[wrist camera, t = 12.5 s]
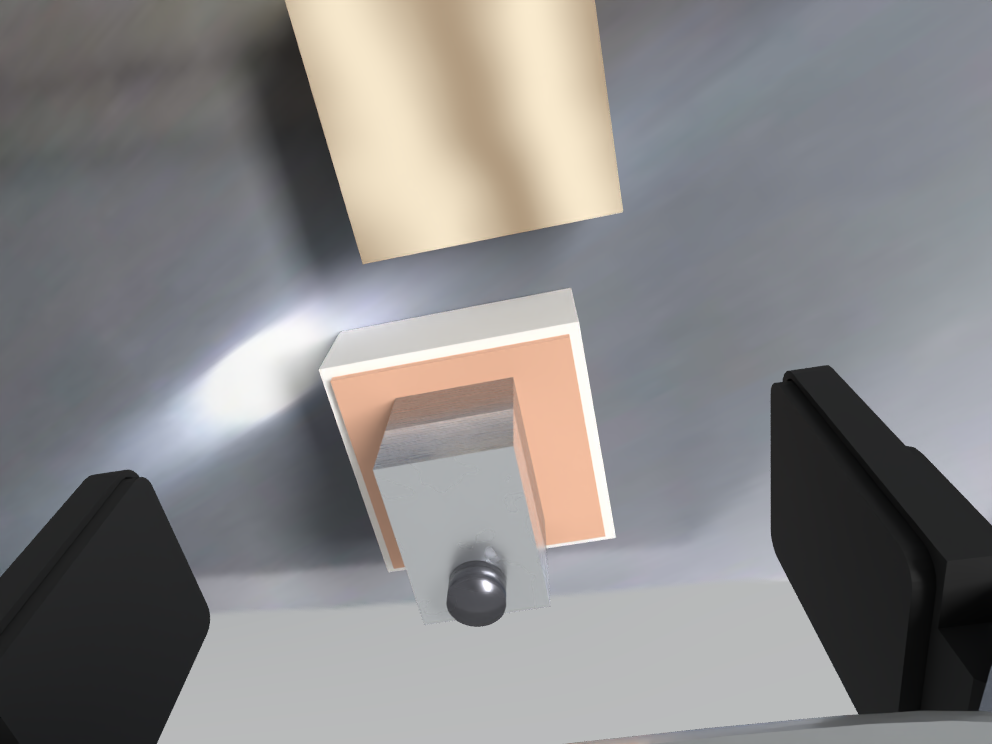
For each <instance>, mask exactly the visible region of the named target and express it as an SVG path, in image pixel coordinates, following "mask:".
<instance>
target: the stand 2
mask: <svg viewBox="0 0 992 744" xmlns="http://www.w3.org/2000/svg"><path fill="white" fill-rule="evenodd" d="M319 372H320V375H321V378H322V381H323V384H324V387H325V390H326V393H327V396H328V398H329V401H330V404H331V407H332V410H333V413H334V416H335V419H336V422H337V425H338V427H339V430H340V433H341V436H342V439H343V442H344V445H345V448H346V451H347V454H348V457H349V459H350V462H351V465H352V468H353V471H354V474H355V477H356V480H357V483H358V486H359V489H360V491H361V494H362V497H363V500H364V503H365V506H366V509H367V512H368V515H369V518H370V521H371V523H372V526H373V529H374V532H375V535H376V538H377V541H378V544H379V547H380V550H381V553H382V555H383V558H384V561H385V564H386V567H387V570H388V572H395V571H401V570H406V569H405V566H404V562H403V559H402V556H401V553H400V550H399V547H398V544H397V541H396V538H395V535H394V532H393V529H392V526H391V523H390V520H389V517H388V514H387V511H386V508H385V505H384V502H383V499H382V496H381V493H380V490H379V487H378V484H377V481H376V478H375V475H374V472H373V468H374V465H375V462H376V458H377V455H378V452H379V449H380V446H381V443H382V439H383V436H384V433H385V430H386V427H387V424H388V420H389V417H390V414H391V411H392V408H393V405H394V401H395V398H399V397H405V396H410V395H416V394H422V393H427V392H433V391H438V390H444V389H449V388H455V387H460V386H466V385H472V384H477V383H483V382H488V381H494V380H499V379H505V378H510V377H513V378H514V383H515V387H516V392H517V396H518V401H519V405H520V410H521V414H522V419H523V423H524V428H525V432H526V437H527V442H528V446H529V451H530V455H531V460H532V464H533V469H534V473H535V478H536V482H537V487H538V491H539V496H540V500H541V505H542V509H543V514H544V518H545V531H546V546H547V548H552V547H558V546H565V545H571V544H578V543H584V542H591V541H598V540H604V539H611V538H616V536H615V530H614V524H613V519H612V513H611V507H610V501H609V495H608V489H607V484H606V478H605V472H604V466H603V460H602V454H601V449H600V443H599V437H598V431H597V425H596V419H595V414H594V408H593V402H592V396H591V390H590V385H589V379H588V373H587V367H586V361H585V355H584V350H583V344H582V338H581V332H580V326H579V321H578V316H577V312H576V307H575V303H574V299H573V294H572V290H571V288H567V289H562V290H557V291H551V292H546V293H541V294H536V295H530V296H525V297H520V298H515V299H509V300H504V301H499V302H494V303H488V304H483V305H478V306H473V307H467V308H462V309H457V310H451V311H446V312H441V313H436V314H430V315H425V316H420V317H415V318H409V319H404V320H399V321H394V322H388V323H383V324H378V325H373V326H367V327H362V328H357V329H352V330H346V331H341V332H340V333H339V335H338V336H337V338H336V340H335V342H334V343H333V345H332V347H331V349H330V350H329V352H328V354H327V356H326V358H325V359H324V361H323V363H322V365H321V366H320V368H319Z"/></svg>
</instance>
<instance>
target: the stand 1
mask: <svg viewBox="0 0 992 744" xmlns="http://www.w3.org/2000/svg"><path fill="white" fill-rule="evenodd" d="M285 2H286V6H287V9H288V12H289V16H290V19H291V23H292V26H293V29H294V33H295V36H296V40H297V43H298V46H299V50H300V53H301V56H302V60H303V63H304V67H305V70H306V73H307V77H308V80H309V84H310V87H311V90H312V94H313V97H314V100H315V104H316V107H317V111H318V114H319V117H320V121H321V124H322V128H323V131H324V134H325V138H326V141H327V144H328V148H329V151H330V155H331V158H332V161H333V165H334V168H335V172H336V175H337V178H338V182H339V185H340V188H341V192H342V195H343V199H344V202H345V205H346V209H347V212H348V216H349V219H350V222H351V226H352V229H353V232H354V236H355V239H356V243H357V246H358V249H359V253H360V256H361V260H362V263H363V264H366V263H371V262H376V261H381V260H386V259H391V258H396V257H401V256H406V255H411V254H416V253H421V252H426V251H431V250H436V249H441V248H446V247H451V246H456V245H461V244H466V243H471V242H476V241H481V240H486V239H491V238H496V237H501V236H506V235H511V234H516V233H521V232H526V231H531V230H536V229H541V228H546V227H551V226H556V225H561V224H566V223H571V222H576V221H581V220H586V219H591V218H596V217H601V216H606V215H611V214H616V213H621V212H623V207H622V200H621V193H620V185H619V178H618V170H617V163H616V156H615V148H614V141H613V133H612V126H611V118H610V111H609V104H608V96H607V89H606V81H605V74H604V67H603V59H602V52H601V44H600V37H599V29H598V22H597V15H596V7H595V0H285Z"/></svg>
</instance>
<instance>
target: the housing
mask: <svg viewBox="0 0 992 744" xmlns="http://www.w3.org/2000/svg"><path fill="white" fill-rule="evenodd" d="M373 472H374V475H375V478H376V481H377V484H378V487H379V490H380V493H381V496H382V499H383V502H384V505H385V508H386V511H387V514H388V517H389V520H390V523H391V526H392V529H393V532H394V535H395V538H396V541H397V544H398V547H399V550H400V553H401V556H402V559H403V562H404V566H405V569H406V572H407V575H408V578H409V581H410V584H411V587H412V590H413V593H414V596H415V599H416V602H417V605H418V608H419V611H420V614H421V617H422V620H423V623H424V625H426V624H433V623H440V622H447V621H453V620H457V621H458V622H460V623H462V624H465V625H469V626H475V627H477V626H478V627H480V626H486V625H490V624H492V623H494V622H496V621H497V620H498V619H500V618H501V617H502V615H503V614H504V613H508V612H516V611H522V610H530V609H536V608H543V607H550V591H549V576H548V561H547V546H546V531H545V518H544V514H543V509H542V505H541V500H540V496H539V491H538V487H537V482H536V478H535V473H534V469H533V464H532V460H531V455H530V451H529V446H528V442H527V437H526V432H525V428H524V423H523V419H522V414H521V410H520V405H519V401H518V396H517V392H516V387H515V383H514V378H513V377H510V378H505V379H499V380H494V381H488V382H483V383H477V384H472V385H466V386H460V387H455V388H449V389H444V390H438V391H433V392H427V393H422V394H416V395H410V396H405V397H399V398H395V401H394V405H393V408H392V411H391V414H390V417H389V420H388V424H387V427H386V430H385V433H384V436H383V439H382V443H381V446H380V449H379V452H378V455H377V458H376V462H375V465H374V468H373Z"/></svg>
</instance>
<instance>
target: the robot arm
mask: <svg viewBox="0 0 992 744" xmlns="http://www.w3.org/2000/svg"><path fill="white" fill-rule="evenodd" d="M771 537H772V543H773V547H774V550H775V553H776V555H777V558H778V560H779V562H780V564H781V566H782V567H783V569H784V571H785V573H786V575H787V577H788V579H789V581H790V583H791V585H792V587H793V589H794V590H795V593H796V595H797V596H798V598H799V600H800V602H801V604H802V606H803V608H804V610H805V612H806V614H807V616H808V618H809V620H810V621H811V623H812V625H813V627H814V629H815V631H816V633H817V635H818V637H819V639H820V641H821V643H822V645H823V647H824V649H825V651H826V652H827V654H828V656H829V658H830V660H831V662H832V664H833V666H834V668H835V670H836V672H837V674H838V675H839V677H840V679H841V681H842V683H843V685H844V687H845V689H846V691H847V693H848V695H849V697H850V699H851V701H852V703H853V704H854V706H855V708H856V710H857V712H858V714H859V715H843V716H832V717H822V718H809V719H799V720H788V721H779V722H768V723H758V724H747V725H736V726H726V727H715V728H704V729H695V730H686V731H677V732H669V733H660V734H650V735H641V736H632V737H623V738H613V739H604V740H595V741H586V742H577V743H568V744H992V525H991V524H990V523H989V522H988V521H987V520H986V519H985V518H984V517H983V516H982V515H981V514H980V513H979V512H978V511H977V510H976V509H975V508H974V507H973V505H972V504H971V503H970V502H969V501H968V500H967V499H966V498H965V497H964V496H963V495H962V494H961V493H960V492H959V491H958V490H957V489H956V488H955V487H954V486H953V485H952V484H951V483H950V482H949V481H948V480H947V479H946V477H945V476H944V475H943V474H942V473H941V472H940V471H939V470H938V469H937V468H936V467H935V466H934V465H933V464H932V463H931V462H930V461H929V460H928V459H927V458H926V457H925V456H924V455H923V454H922V453H921V452H920V451H918V450H917V449H916V448H914V447H909V446H905V445H904V444H903V443H902V442H901V441H900V439H899V438H898V437H897V436H896V435H895V434H894V433H893V432H892V431H891V430H890V429H889V428H888V427H887V426H886V425H885V424H884V422H883V421H882V420H881V419H880V418H879V417H878V416H877V415H876V414H875V413H874V412H873V411H872V410H871V409H870V408H869V407H868V406H867V404H866V403H865V402H864V401H863V400H862V399H861V398H860V397H859V396H858V395H857V394H856V393H855V392H854V391H853V390H852V389H851V388H850V386H849V385H848V384H847V383H846V382H845V381H844V380H843V379H842V378H841V377H840V376H839V375H838V374H837V373H836V372H835V371H834V369H833V368H831V367H830V366H828V365H826V366H818V367H812V368H805V369H798V370H791V371H787V372H786V373H785V374H784V377H783V382H779V383H774V384H773V385H772V388H771ZM209 624H210V613H209V608H208V606H207V603H206V601H205V599H204V597H203V595H202V592H201V590H200V588H199V586H198V584H197V582H196V579H195V577H194V575H193V573H192V571H191V569H190V567H189V564H188V562H187V560H186V558H185V556H184V554H183V551H182V549H181V547H180V545H179V543H178V541H177V538H176V536H175V534H174V532H173V530H172V528H171V526H170V523H169V521H168V519H167V517H166V515H165V513H164V510H163V508H162V506H161V504H160V502H159V500H158V497H157V495H156V493H155V491H154V489H153V487H152V485H151V483H150V482H149V480H147V479H146V478H144V477H139V476H138V475H137V474H136V473H135V472H134V471H132V470H122V471H115V472H109V473H102V474H95V475H91V476H89V477H88V478H86V479H85V480H84V481H83V482H82V484H81V485H80V486H79V487H78V488H77V489H76V491H75V492H74V493H73V494H72V495H71V496H70V498H69V499H68V500H67V501H66V502H65V503H64V504H63V506H62V507H61V508H60V509H59V510H58V511H57V513H56V514H55V515H54V516H53V517H52V518H51V519H50V521H49V522H48V523H47V524H46V525H45V526H44V528H43V529H42V530H41V531H40V532H39V533H38V534H37V536H36V537H35V538H34V539H33V540H32V541H31V543H30V544H29V545H28V546H27V547H26V548H25V549H24V551H23V552H22V553H21V554H20V555H19V556H18V558H17V559H16V560H15V561H14V562H13V563H12V564H11V566H10V567H9V568H8V569H7V570H6V571H5V573H4V574H3V575H2V576H1V577H0V744H157V742H158V740H159V737H160V735H161V733H162V731H163V728H164V726H165V724H166V722H167V720H168V718H169V716H170V713H171V711H172V709H173V707H174V705H175V702H176V700H177V698H178V696H179V694H180V691H181V689H182V687H183V685H184V683H185V681H186V678H187V676H188V674H189V672H190V670H191V667H192V665H193V663H194V661H195V659H196V657H197V654H198V652H199V650H200V648H201V646H202V643H203V641H204V639H205V637H206V635H207V632H208V629H209Z"/></svg>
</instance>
